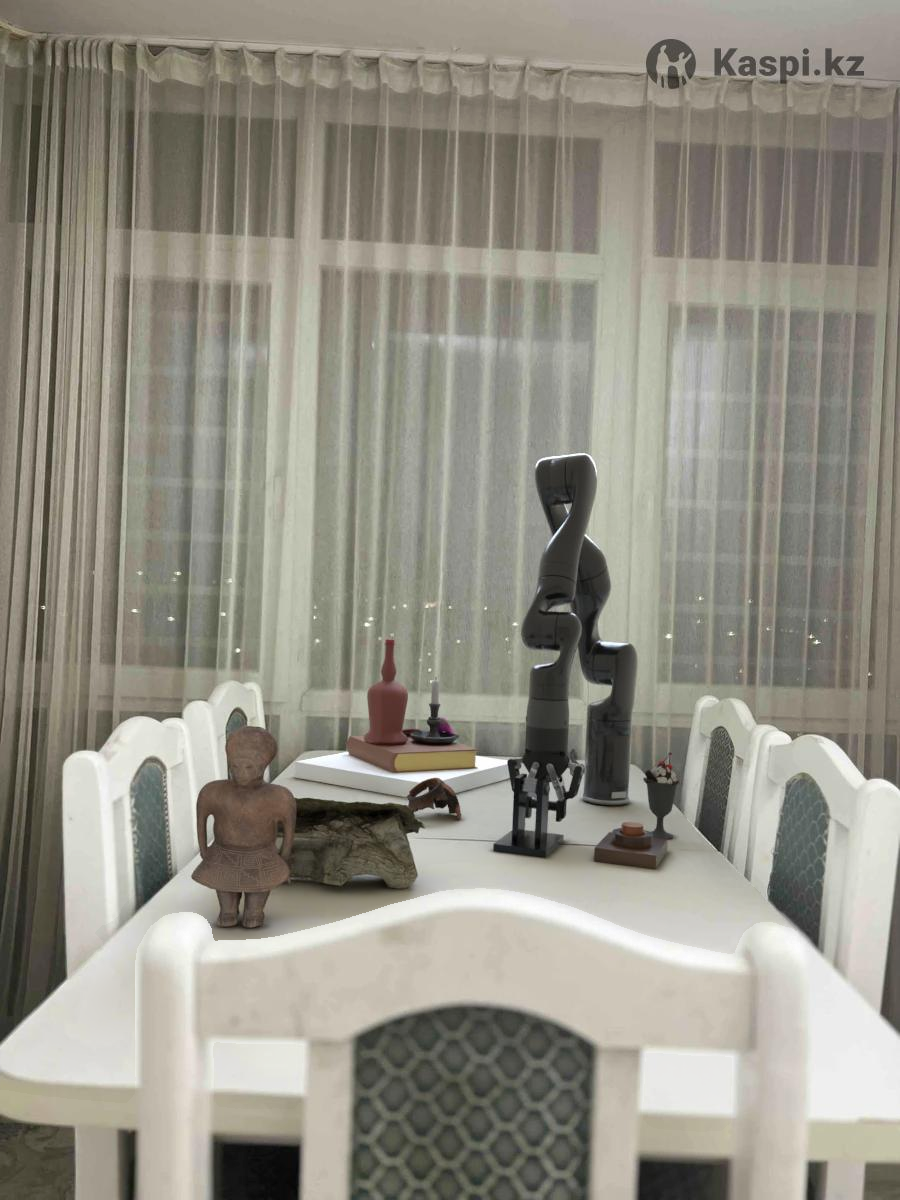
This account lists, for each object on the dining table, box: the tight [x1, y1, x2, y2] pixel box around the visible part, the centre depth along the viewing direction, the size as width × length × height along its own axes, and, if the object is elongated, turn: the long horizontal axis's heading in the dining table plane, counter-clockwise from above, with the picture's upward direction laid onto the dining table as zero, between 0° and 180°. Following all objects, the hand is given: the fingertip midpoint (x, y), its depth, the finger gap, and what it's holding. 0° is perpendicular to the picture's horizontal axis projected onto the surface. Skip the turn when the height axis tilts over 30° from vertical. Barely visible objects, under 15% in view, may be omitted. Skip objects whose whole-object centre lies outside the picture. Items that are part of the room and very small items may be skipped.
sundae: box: [642, 752, 682, 840], centre depth 189 cm, size 7×7×15 cm
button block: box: [593, 827, 669, 870], centre depth 174 cm, size 12×10×4 cm
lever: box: [523, 778, 557, 812], centre depth 182 cm, size 12×5×2 cm, turn 160°
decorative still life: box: [294, 638, 510, 798], centre depth 237 cm, size 35×40×31 cm
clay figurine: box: [190, 725, 296, 928], centre depth 133 cm, size 13×10×25 cm
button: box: [621, 821, 645, 836], centre depth 174 cm, size 4×4×2 cm
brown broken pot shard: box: [406, 778, 462, 821], centre depth 198 cm, size 12×10×8 cm
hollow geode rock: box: [276, 797, 426, 889], centre depth 151 cm, size 28×13×15 cm
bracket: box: [492, 773, 565, 859], centre depth 178 cm, size 12×9×12 cm
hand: (543, 818), depth 186 cm, fingers closed on lever, 5 cm apart
